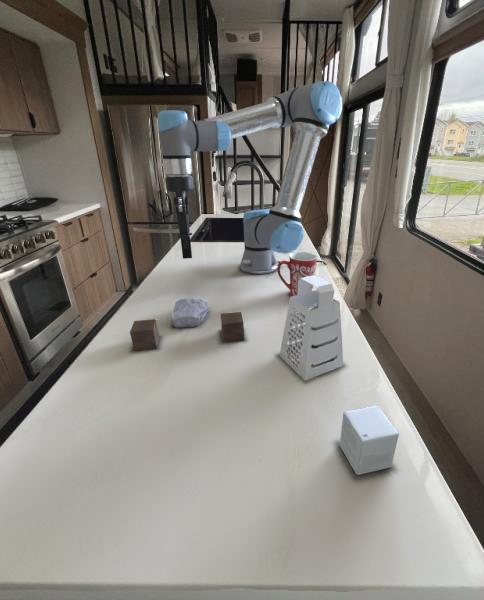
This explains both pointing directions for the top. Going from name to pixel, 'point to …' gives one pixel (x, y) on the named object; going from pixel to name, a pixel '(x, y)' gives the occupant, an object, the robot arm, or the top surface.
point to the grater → (313, 328)
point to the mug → (298, 269)
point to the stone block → (189, 312)
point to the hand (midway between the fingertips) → (187, 257)
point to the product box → (368, 439)
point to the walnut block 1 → (144, 334)
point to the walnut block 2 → (232, 326)
